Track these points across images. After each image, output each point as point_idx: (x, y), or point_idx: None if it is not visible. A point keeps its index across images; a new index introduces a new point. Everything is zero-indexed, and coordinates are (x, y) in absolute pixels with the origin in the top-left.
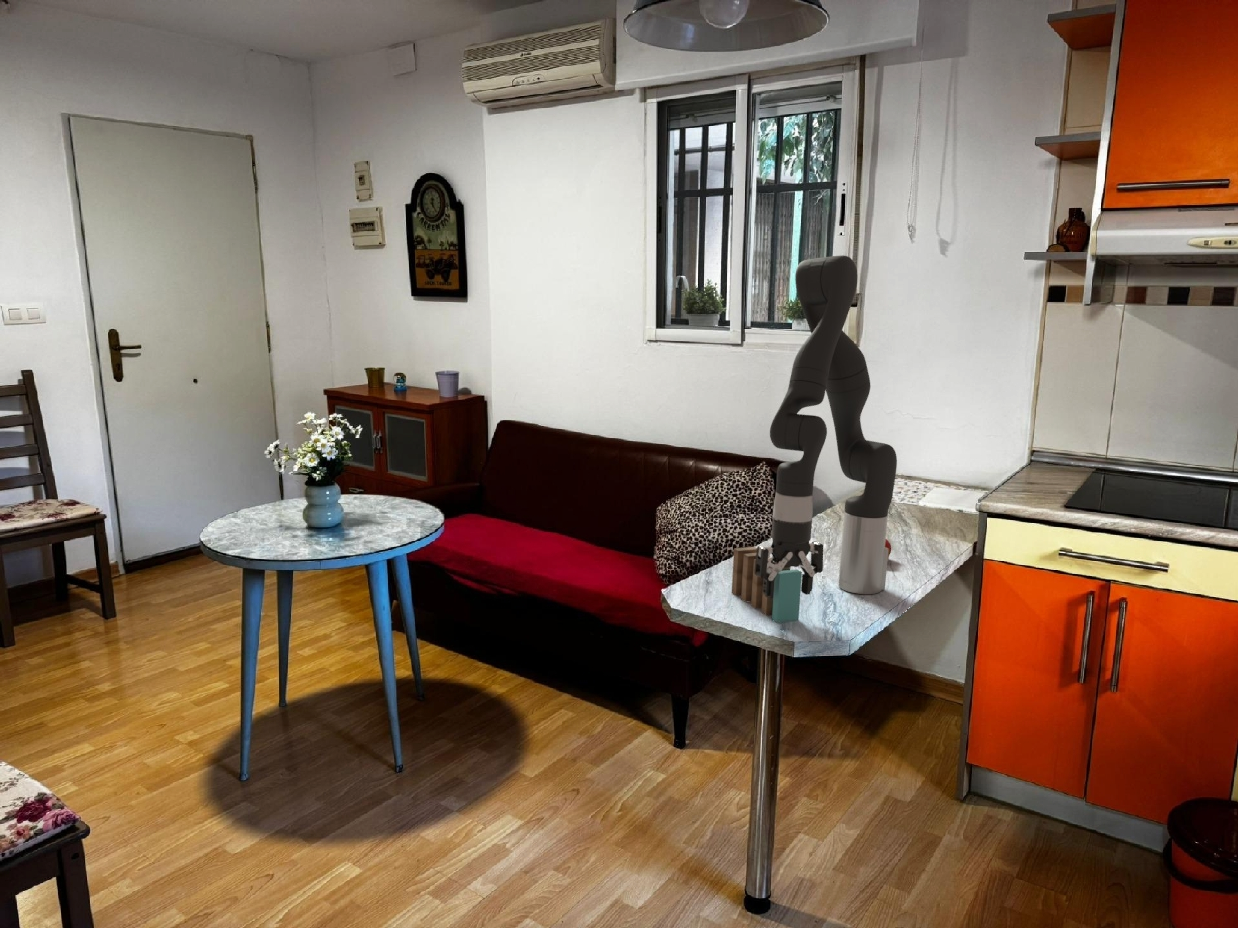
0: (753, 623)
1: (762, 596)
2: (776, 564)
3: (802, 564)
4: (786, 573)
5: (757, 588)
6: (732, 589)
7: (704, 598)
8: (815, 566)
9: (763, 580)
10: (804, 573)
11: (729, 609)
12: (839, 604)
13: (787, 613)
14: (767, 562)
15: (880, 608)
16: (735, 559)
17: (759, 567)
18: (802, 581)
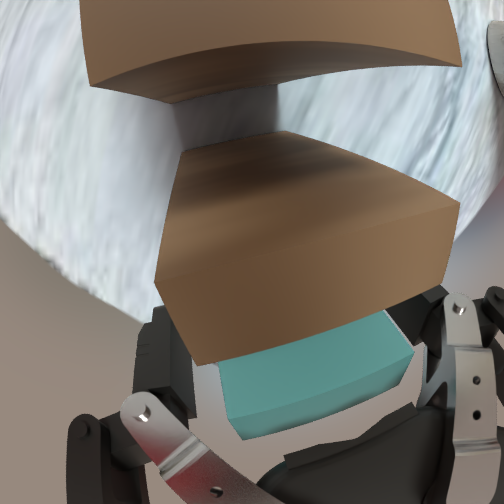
0: (125, 264)
1: (178, 168)
2: (360, 237)
3: (436, 398)
4: (293, 427)
5: (164, 99)
6: None
7: (19, 23)
8: (484, 340)
9: (134, 390)
10: (435, 316)
11: (62, 122)
12: (457, 130)
13: None
14: (294, 43)
15: (492, 180)
16: None
17: (98, 470)
18: None
